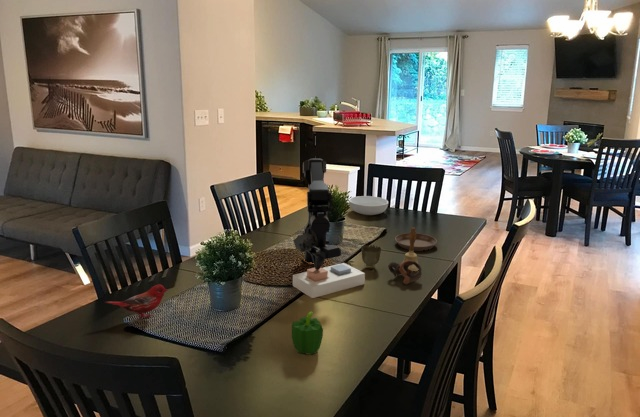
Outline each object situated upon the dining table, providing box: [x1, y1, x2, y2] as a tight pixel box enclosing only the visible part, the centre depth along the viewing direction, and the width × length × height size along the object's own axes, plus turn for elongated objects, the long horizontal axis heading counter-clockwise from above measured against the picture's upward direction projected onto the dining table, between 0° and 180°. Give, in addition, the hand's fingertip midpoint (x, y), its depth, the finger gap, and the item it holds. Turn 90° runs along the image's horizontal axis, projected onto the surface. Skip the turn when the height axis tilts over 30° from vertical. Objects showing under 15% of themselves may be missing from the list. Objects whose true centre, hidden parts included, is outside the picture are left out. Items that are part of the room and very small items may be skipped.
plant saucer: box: [394, 232, 438, 252], centre depth 220 cm, size 18×18×3 cm
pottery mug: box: [387, 260, 423, 285], centre depth 182 cm, size 12×10×8 cm
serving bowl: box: [348, 195, 389, 216], centre depth 270 cm, size 21×21×7 cm
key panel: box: [292, 262, 366, 299], centre depth 176 cm, size 12×22×4 cm, turn 125°
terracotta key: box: [306, 266, 328, 282], centre depth 173 cm, size 5×5×3 cm
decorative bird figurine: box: [104, 283, 169, 318], centre depth 149 cm, size 3×18×10 cm, turn 107°
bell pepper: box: [291, 311, 324, 355], centre depth 133 cm, size 8×8×10 cm
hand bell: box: [401, 227, 419, 272], centre depth 192 cm, size 8×8×16 cm
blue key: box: [331, 263, 351, 276], centre depth 178 cm, size 5×5×3 cm
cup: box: [360, 244, 382, 270], centre depth 192 cm, size 8×7×8 cm
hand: (317, 269), depth 172 cm, fingers closed
